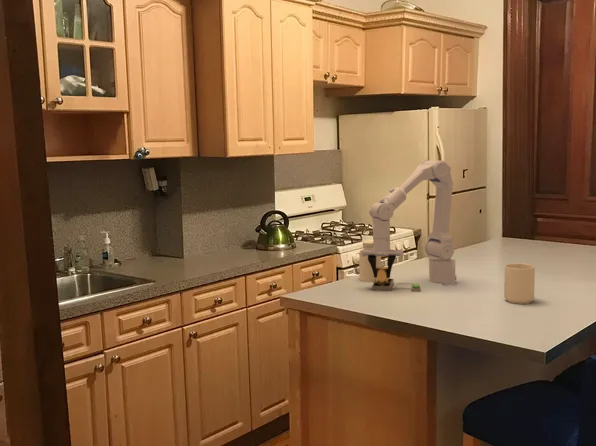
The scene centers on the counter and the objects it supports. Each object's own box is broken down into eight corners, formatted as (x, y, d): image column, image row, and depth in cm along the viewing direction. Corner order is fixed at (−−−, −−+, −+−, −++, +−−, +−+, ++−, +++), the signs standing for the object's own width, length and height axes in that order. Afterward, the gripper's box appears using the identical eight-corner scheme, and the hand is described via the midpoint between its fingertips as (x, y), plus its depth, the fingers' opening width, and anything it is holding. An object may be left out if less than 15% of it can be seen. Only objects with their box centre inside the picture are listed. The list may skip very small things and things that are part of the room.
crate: (394, 285, 227) (394, 278, 227) (391, 293, 215) (391, 286, 215) (375, 285, 229) (375, 278, 228) (371, 293, 217) (371, 285, 216)
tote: (418, 286, 224) (418, 283, 224) (417, 292, 216) (417, 288, 216) (395, 286, 226) (395, 283, 226) (394, 291, 218) (394, 288, 218)
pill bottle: (380, 284, 229) (380, 243, 227) (358, 284, 231) (357, 243, 229) (382, 279, 237) (381, 240, 235) (360, 279, 239) (359, 240, 237)
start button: (419, 291, 215) (419, 283, 215) (419, 293, 213) (419, 285, 213) (412, 291, 216) (412, 283, 215) (412, 293, 213) (412, 285, 213)
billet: (389, 286, 217) (389, 269, 216) (378, 287, 216) (378, 269, 215) (385, 284, 221) (385, 267, 220) (374, 284, 220) (374, 267, 219)
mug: (534, 305, 195) (534, 269, 194) (503, 303, 198) (504, 268, 197) (534, 296, 206) (534, 262, 205) (505, 294, 209) (505, 261, 208)
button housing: (420, 292, 216) (420, 286, 215) (420, 294, 213) (420, 288, 212) (411, 292, 216) (411, 286, 216) (411, 294, 213) (411, 288, 213)
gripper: (358, 239, 215) (359, 279, 216) (402, 239, 211) (402, 279, 213) (361, 236, 221) (362, 274, 223) (403, 236, 218) (404, 275, 220)
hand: (382, 277), depth 218 cm, fingers closed on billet, 4 cm apart
